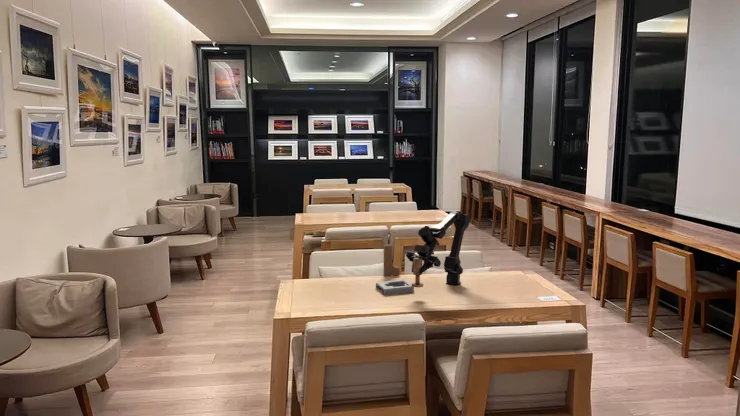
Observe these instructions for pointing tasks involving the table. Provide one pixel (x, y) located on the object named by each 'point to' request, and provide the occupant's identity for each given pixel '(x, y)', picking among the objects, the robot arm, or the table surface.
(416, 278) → the headed peg
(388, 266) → the wooden block
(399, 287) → the keyhole plate
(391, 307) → the table surface
